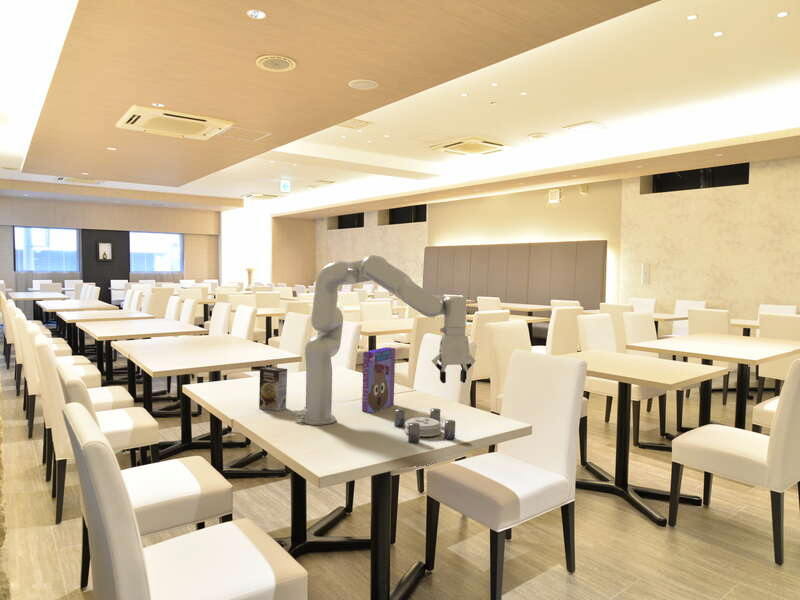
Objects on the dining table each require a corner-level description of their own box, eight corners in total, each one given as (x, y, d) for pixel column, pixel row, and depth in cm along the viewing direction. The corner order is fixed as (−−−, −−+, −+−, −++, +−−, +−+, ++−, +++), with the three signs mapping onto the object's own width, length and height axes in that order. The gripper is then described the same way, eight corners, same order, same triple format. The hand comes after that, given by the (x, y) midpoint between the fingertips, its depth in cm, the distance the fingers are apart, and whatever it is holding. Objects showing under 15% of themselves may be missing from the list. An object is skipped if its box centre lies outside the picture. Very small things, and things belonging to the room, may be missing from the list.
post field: (409, 444, 179) (410, 425, 179) (393, 425, 201) (393, 408, 201) (457, 441, 183) (458, 423, 183) (436, 423, 205) (437, 407, 205)
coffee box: (258, 408, 219) (258, 368, 218) (268, 405, 225) (268, 366, 224) (277, 411, 216) (278, 370, 215) (287, 408, 222) (287, 368, 221)
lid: (442, 430, 197) (443, 416, 197) (439, 440, 185) (439, 425, 185) (407, 427, 199) (408, 413, 199) (401, 437, 187) (402, 423, 187)
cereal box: (372, 413, 217) (373, 352, 216) (362, 411, 219) (363, 351, 218) (393, 404, 233) (395, 347, 231) (383, 403, 235) (385, 346, 234)
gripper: (434, 332, 187) (432, 385, 188) (481, 332, 192) (480, 383, 192) (427, 330, 195) (426, 380, 195) (473, 330, 199) (472, 379, 200)
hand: (453, 381), depth 194 cm, fingers open, 6 cm apart
